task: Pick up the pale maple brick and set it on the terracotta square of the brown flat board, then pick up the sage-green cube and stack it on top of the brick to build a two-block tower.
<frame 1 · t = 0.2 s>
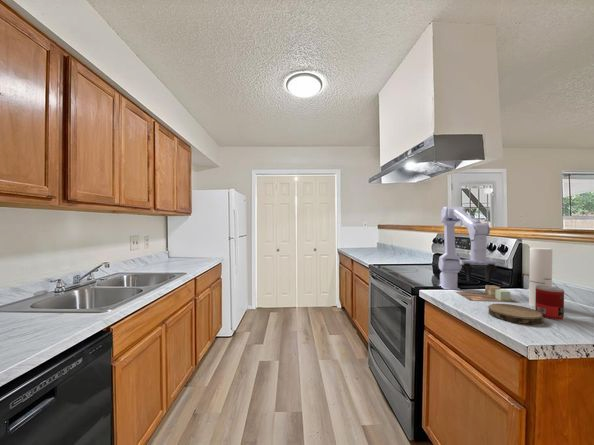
hand: (478, 281, 120), 10 cm above the worktop, tool pointing down, fingers open, 7 cm apart
wood slice: (514, 318, 103), on the worktop
cylindrical container: (540, 307, 115), on the worktop
canned food: (549, 316, 104), on the worktop
sage cube: (502, 299, 125), resting on brown flat board
brown flat board: (484, 298, 128), on the worktop
maple brick: (492, 294, 133), resting on brown flat board
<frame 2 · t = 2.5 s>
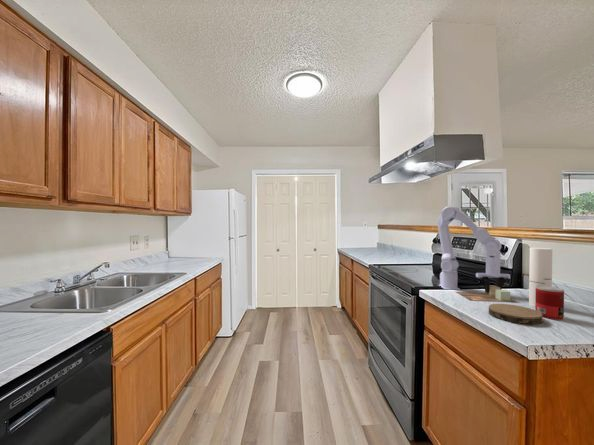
hand: (492, 292, 133), 2 cm above the worktop, tool pointing down, fingers closed on maple brick, 4 cm apart
maple brick: (492, 294, 133), resting on brown flat board, touching gripper
everything else where it was.
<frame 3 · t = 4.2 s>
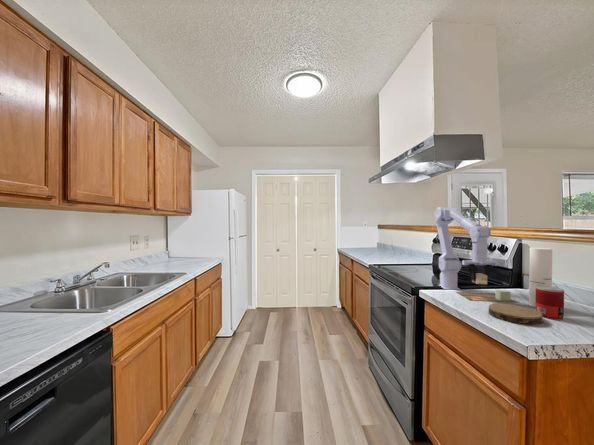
hand: (479, 280, 127), 9 cm above the worktop, tool pointing down, fingers closed on maple brick, 4 cm apart
maple brick: (479, 283, 127), point 7 cm above the worktop, touching gripper
everything else where it was.
when the fingers open (3 cm above the worktop, at t = 6.0 s): maple brick stays where it is, resting on brown flat board.
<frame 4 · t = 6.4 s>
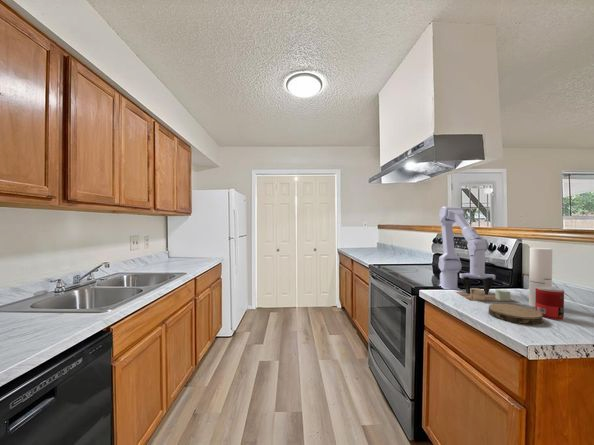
hand: (476, 293, 126), 3 cm above the worktop, tool pointing down, fingers open, 7 cm apart
maple brick: (476, 298, 126), point 1 cm above the worktop, touching brown flat board
everything else where it was.
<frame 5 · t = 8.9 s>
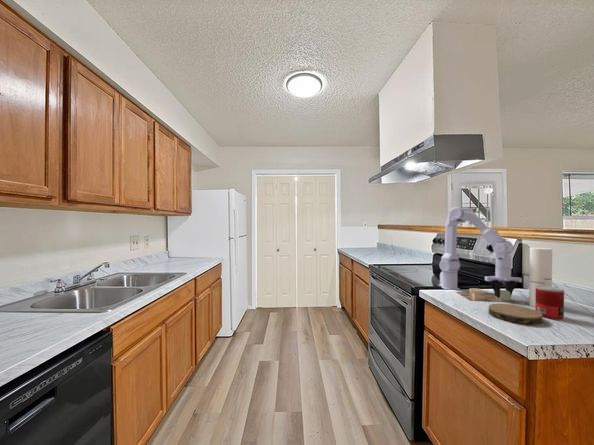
hand: (502, 297, 125), 2 cm above the worktop, tool pointing down, fingers closed on sage cube, 4 cm apart
sage cube: (502, 299, 125), resting on brown flat board, touching gripper
everything else where it was.
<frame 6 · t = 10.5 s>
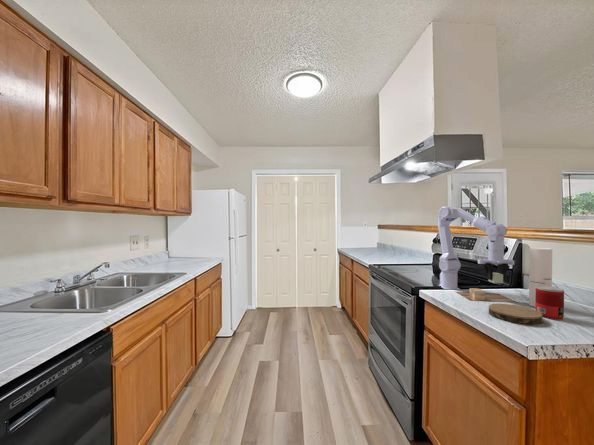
hand: (495, 279, 125), 9 cm above the worktop, tool pointing down, fingers closed on sage cube, 4 cm apart
sage cube: (495, 282, 125), point 8 cm above the worktop, touching gripper
everything else where it was.
when the fingers open (7 cm above the worktop, at t = 12.1 s): sage cube stays where it is, resting on maple brick.
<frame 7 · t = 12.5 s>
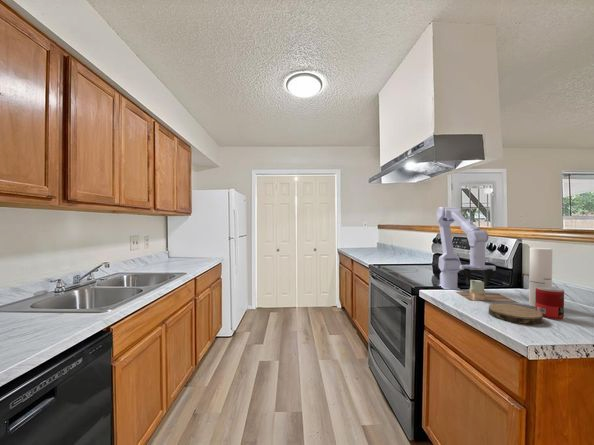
hand: (477, 285, 126), 7 cm above the worktop, tool pointing down, fingers open, 7 cm apart
sage cube: (477, 289, 126), point 5 cm above the worktop, touching maple brick
maple brick: (476, 298, 126), point 1 cm above the worktop, touching brown flat board, sage cube
everything else where it was.
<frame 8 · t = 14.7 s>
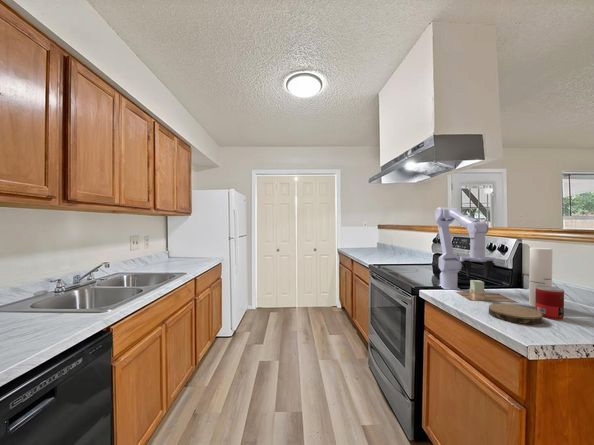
hand: (477, 277, 126), 10 cm above the worktop, tool pointing down, fingers open, 7 cm apart
nothing on the worktop moved.
at the end: maple brick 0.1 cm from the target spot, point 0.5 cm above the worktop; sage cube 0.0 cm off-centre on the maple brick, point 4.0 cm above the maple brick's base; sage cube tilted 0° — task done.
